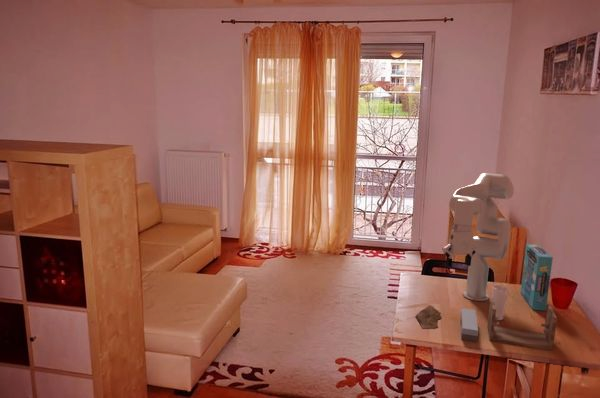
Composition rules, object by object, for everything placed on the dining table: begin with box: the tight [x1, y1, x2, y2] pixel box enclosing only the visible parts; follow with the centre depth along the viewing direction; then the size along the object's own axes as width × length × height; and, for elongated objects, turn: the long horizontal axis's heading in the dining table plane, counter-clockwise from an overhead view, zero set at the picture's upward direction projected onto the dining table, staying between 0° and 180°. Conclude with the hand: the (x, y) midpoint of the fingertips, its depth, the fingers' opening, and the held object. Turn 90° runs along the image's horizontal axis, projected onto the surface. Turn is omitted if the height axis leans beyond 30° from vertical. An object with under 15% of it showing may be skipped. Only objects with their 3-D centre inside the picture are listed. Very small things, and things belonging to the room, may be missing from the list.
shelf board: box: [460, 307, 479, 337], centre depth 198 cm, size 20×6×2 cm, turn 162°
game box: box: [520, 243, 553, 312], centre depth 227 cm, size 20×6×27 cm, turn 170°
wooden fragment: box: [415, 304, 442, 330], centre depth 211 cm, size 26×11×1 cm, turn 156°
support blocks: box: [460, 318, 478, 342], centre depth 199 cm, size 18×6×3 cm, turn 162°
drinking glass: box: [490, 284, 509, 321], centre depth 210 cm, size 7×7×15 cm
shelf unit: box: [486, 297, 558, 351], centre depth 192 cm, size 12×24×14 cm, turn 72°
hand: (458, 265), depth 200 cm, fingers open, 9 cm apart
